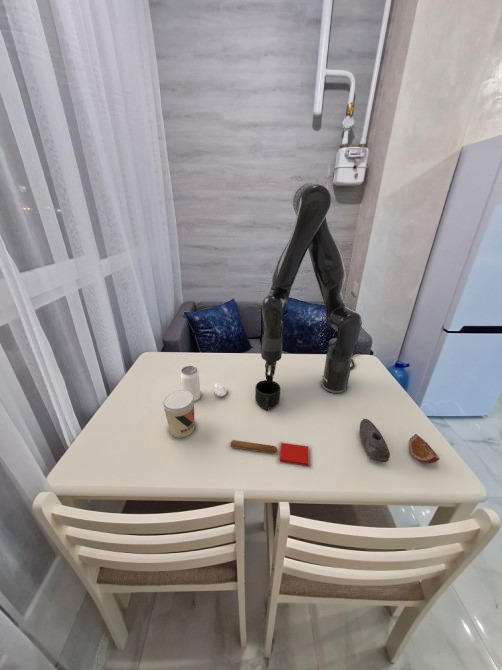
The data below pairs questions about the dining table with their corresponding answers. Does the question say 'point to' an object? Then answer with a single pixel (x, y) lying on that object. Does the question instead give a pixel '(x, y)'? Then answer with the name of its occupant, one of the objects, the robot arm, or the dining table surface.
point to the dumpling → (219, 390)
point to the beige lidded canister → (179, 413)
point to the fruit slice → (422, 450)
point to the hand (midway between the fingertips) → (269, 385)
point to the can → (191, 381)
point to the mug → (267, 394)
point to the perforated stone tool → (374, 442)
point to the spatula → (287, 454)
